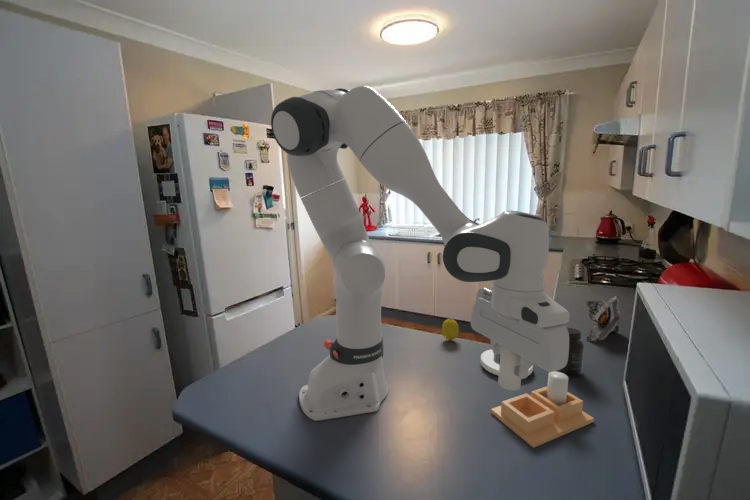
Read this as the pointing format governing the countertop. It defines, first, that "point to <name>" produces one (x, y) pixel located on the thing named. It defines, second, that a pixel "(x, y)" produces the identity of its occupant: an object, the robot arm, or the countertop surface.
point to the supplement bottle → (574, 354)
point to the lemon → (450, 329)
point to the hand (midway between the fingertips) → (509, 369)
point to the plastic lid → (493, 363)
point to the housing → (544, 412)
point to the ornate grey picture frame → (603, 318)
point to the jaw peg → (509, 370)
